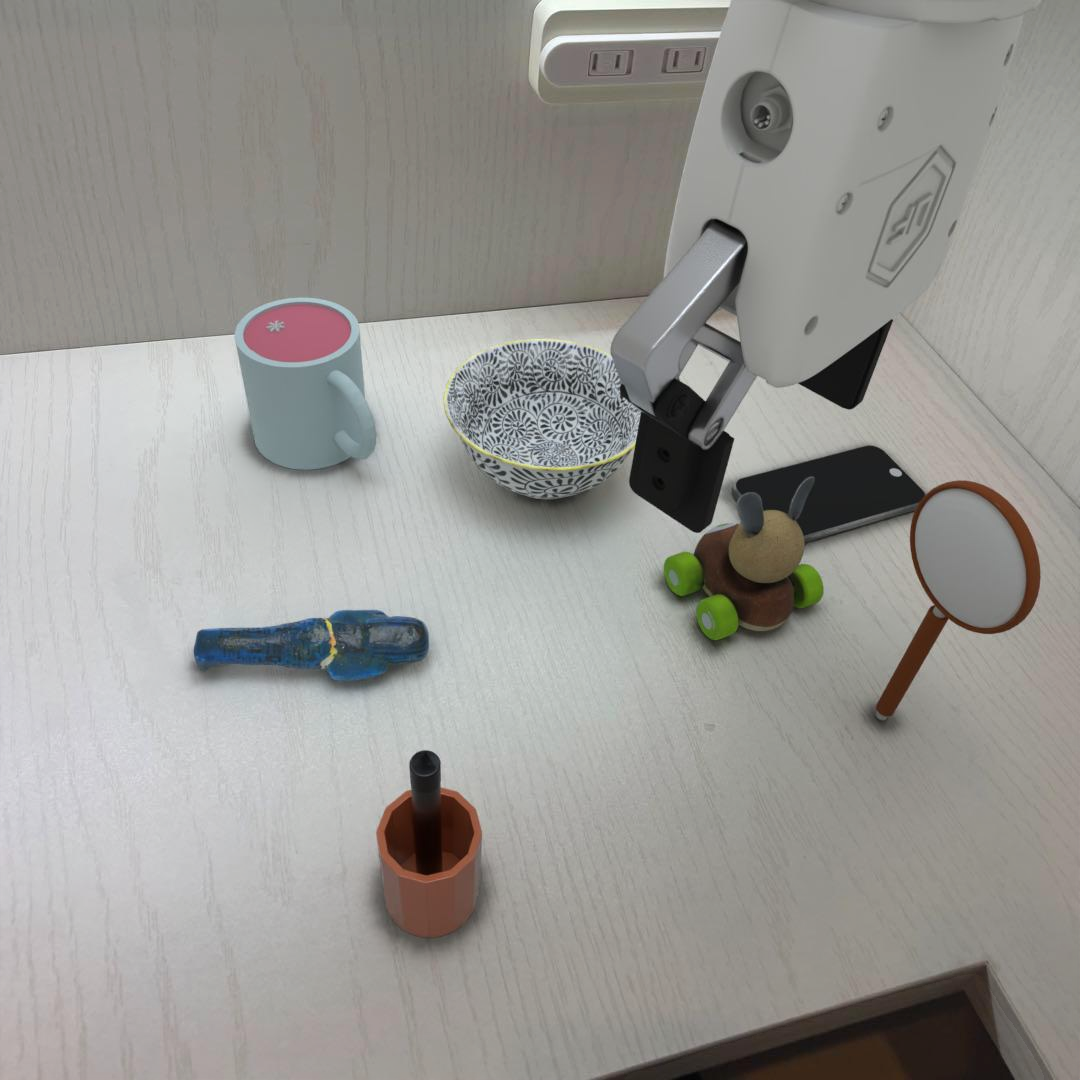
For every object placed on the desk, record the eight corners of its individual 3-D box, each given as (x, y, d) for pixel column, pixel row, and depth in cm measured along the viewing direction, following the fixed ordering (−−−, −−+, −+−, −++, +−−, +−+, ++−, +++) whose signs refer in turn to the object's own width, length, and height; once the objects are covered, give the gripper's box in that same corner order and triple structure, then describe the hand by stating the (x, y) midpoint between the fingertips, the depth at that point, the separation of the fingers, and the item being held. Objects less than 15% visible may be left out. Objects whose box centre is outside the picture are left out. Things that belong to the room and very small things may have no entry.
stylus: (448, 885, 54) (447, 763, 45) (429, 903, 53) (423, 782, 44) (431, 868, 55) (426, 743, 45) (411, 885, 54) (402, 762, 45)
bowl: (426, 527, 74) (424, 452, 69) (462, 399, 85) (463, 326, 80) (635, 553, 73) (649, 480, 68) (643, 421, 84) (656, 350, 79)
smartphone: (934, 499, 79) (779, 544, 74) (931, 506, 79) (777, 551, 74) (876, 441, 83) (727, 480, 78) (873, 447, 84) (725, 486, 79)
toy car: (754, 536, 75) (790, 425, 67) (824, 616, 70) (872, 506, 62) (654, 570, 72) (679, 458, 64) (720, 657, 67) (756, 547, 59)
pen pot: (497, 891, 55) (501, 832, 49) (428, 958, 52) (425, 903, 47) (435, 830, 57) (433, 768, 52) (365, 890, 54) (356, 831, 49)
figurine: (196, 694, 63) (428, 687, 65) (185, 676, 60) (430, 670, 62) (202, 625, 65) (427, 621, 67) (191, 604, 62) (428, 600, 64)
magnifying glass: (831, 671, 67) (935, 452, 52) (852, 664, 67) (960, 445, 53) (910, 775, 61) (1050, 563, 47) (932, 767, 62) (1076, 554, 48)
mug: (233, 426, 81) (211, 324, 73) (327, 385, 85) (316, 284, 78) (326, 517, 74) (312, 415, 67) (423, 467, 79) (420, 366, 71)
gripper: (855, 25, 17) (687, 631, 29) (1184, -108, 26) (952, 396, 39) (546, -79, 20) (512, 504, 33) (935, -165, 30) (794, 315, 42)
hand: (750, 445), depth 36 cm, fingers open, 9 cm apart
